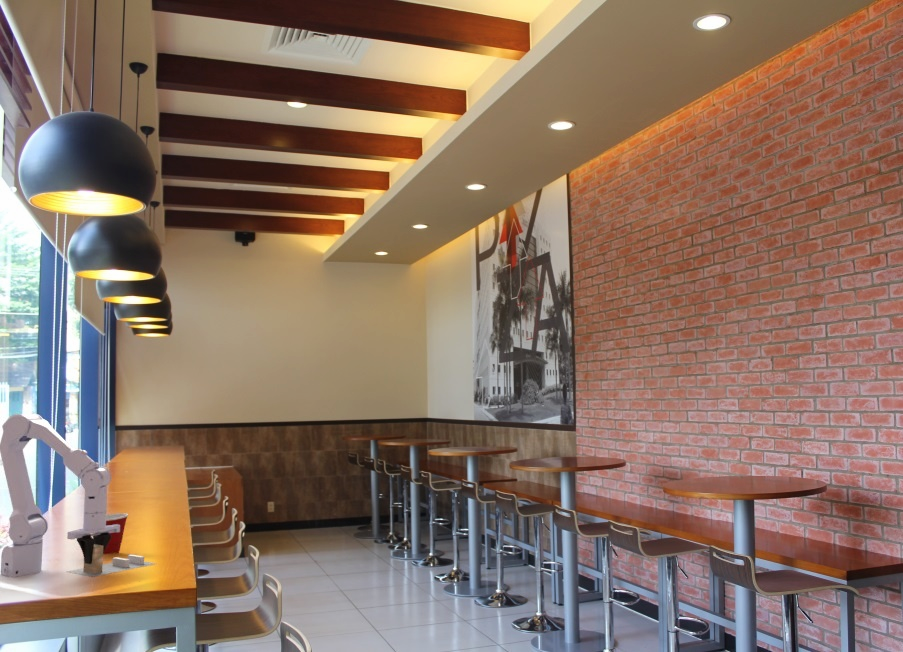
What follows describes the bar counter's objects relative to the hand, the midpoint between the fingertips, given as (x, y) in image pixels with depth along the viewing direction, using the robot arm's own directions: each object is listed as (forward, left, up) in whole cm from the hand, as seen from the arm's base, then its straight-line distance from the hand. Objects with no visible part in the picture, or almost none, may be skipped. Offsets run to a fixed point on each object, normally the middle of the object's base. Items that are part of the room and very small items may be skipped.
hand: (93, 562), depth 216 cm
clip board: (+6, 0, -3) cm, 7 cm away
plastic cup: (+20, +23, -4) cm, 31 cm away
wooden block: (0, 0, -2) cm, 2 cm away
